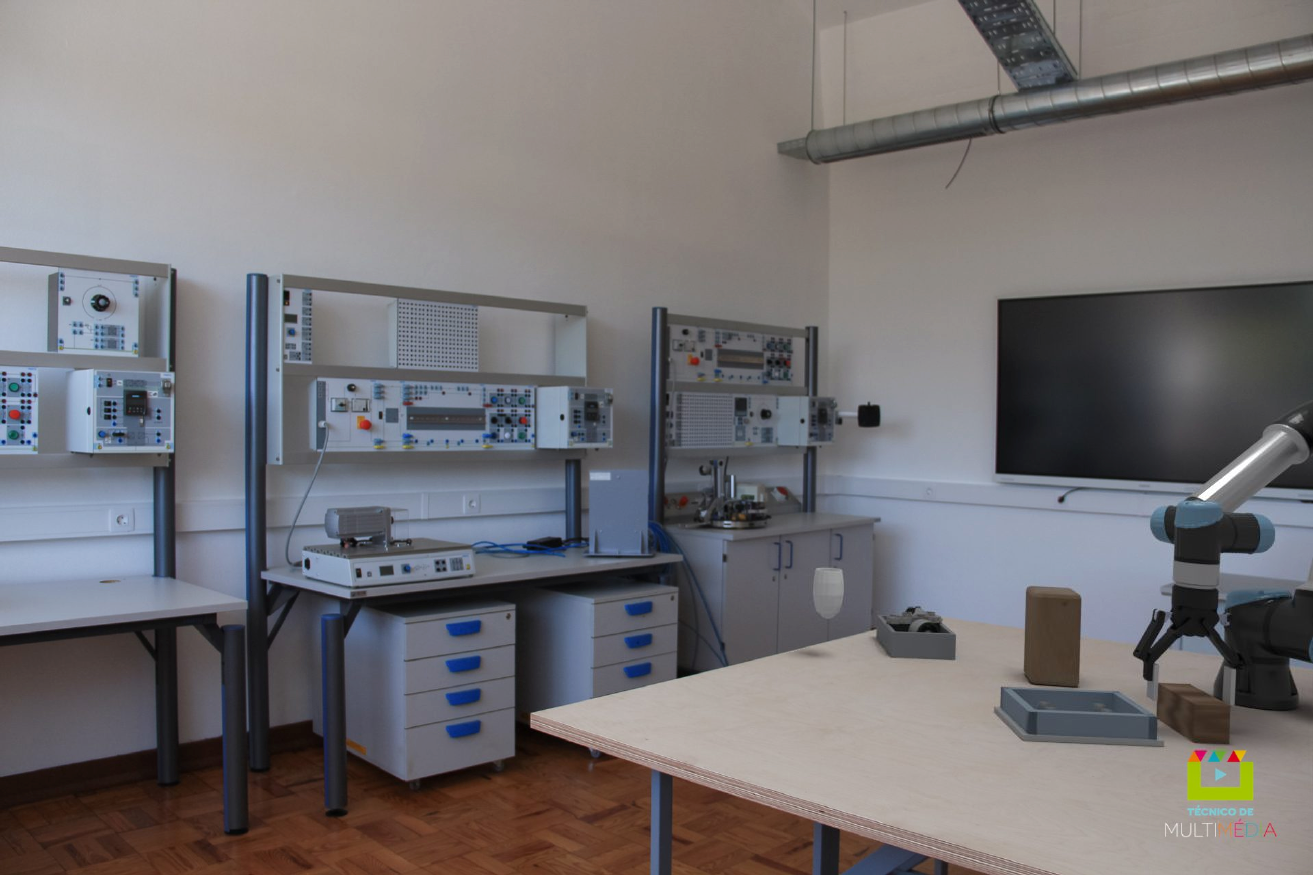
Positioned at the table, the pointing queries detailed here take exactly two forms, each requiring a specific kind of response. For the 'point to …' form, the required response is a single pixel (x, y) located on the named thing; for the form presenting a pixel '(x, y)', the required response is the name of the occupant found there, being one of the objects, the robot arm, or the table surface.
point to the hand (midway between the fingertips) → (1190, 701)
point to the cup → (828, 591)
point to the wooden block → (1052, 636)
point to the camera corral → (916, 642)
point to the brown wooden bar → (1193, 713)
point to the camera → (915, 621)
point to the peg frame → (1077, 716)
